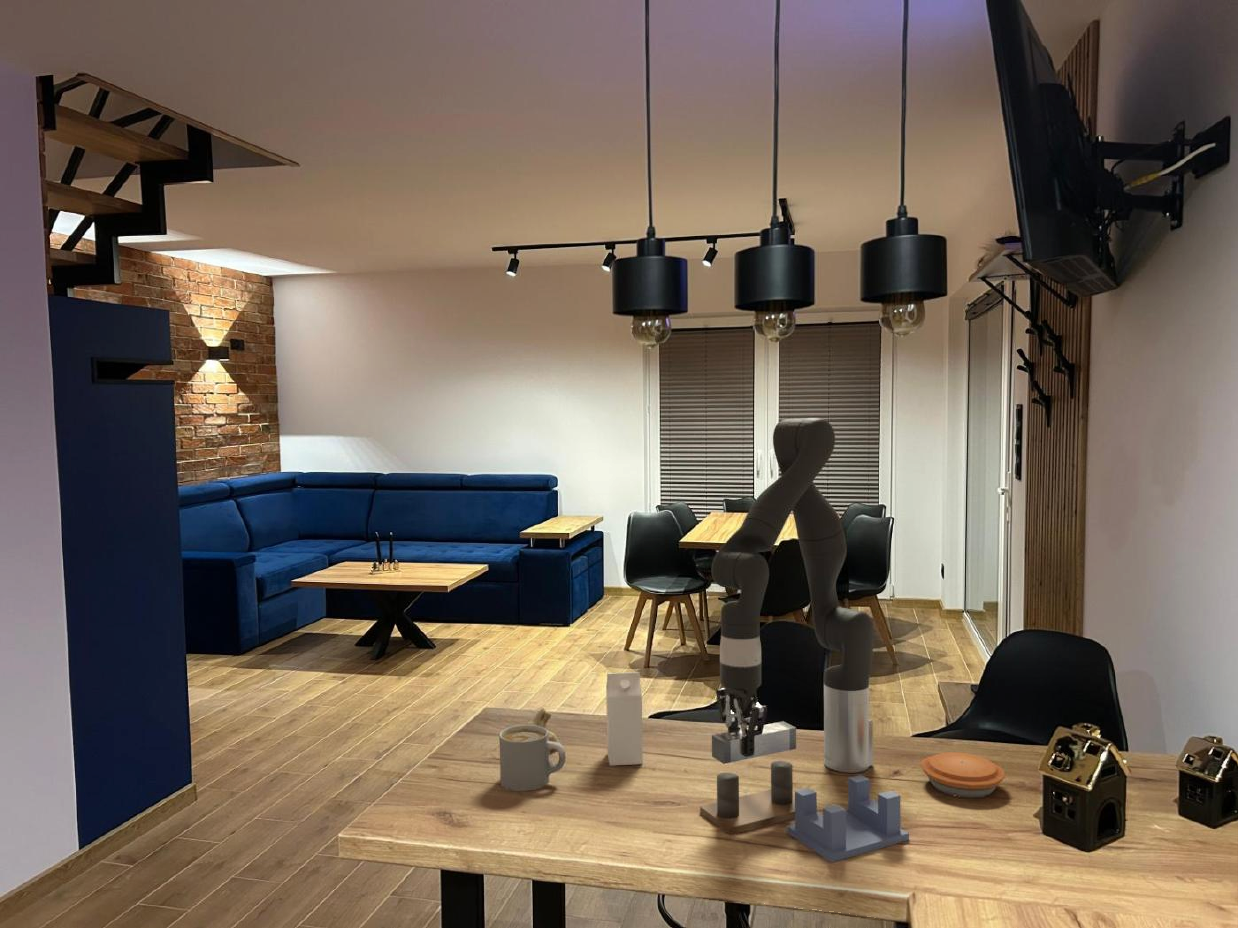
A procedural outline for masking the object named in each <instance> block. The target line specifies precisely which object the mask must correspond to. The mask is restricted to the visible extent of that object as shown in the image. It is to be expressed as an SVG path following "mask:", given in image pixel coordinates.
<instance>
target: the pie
mask: <svg viewBox="0 0 1238 928" xmlns="http://www.w3.org/2000/svg"><path fill="white" fill-rule="evenodd" d="M920 768H921V769H922V771H923V772H924V773H925V775H926V776H927V777H928V780H929V781H930V783H931V784H932V786H933V788H935V789H936V788H937V789H938V790H937V789H936V790H937V791H939V790H940V791H939V792H941V791H942V792H941V793H943V792H944V794H946V793H947V794H946V795H949V796H952V795H956V796H960V797H959V798H962V797H971V798H970V799H974V798H973V797H981V798H984V797H983V796H986V795H988V796H990V795H991V794H992V793H993V792H994V791H995V789H996V788H997V787H998V785H1000V783H1001V782H1002V781H1003V780H1004V779H1005V773H1006V772H1005V771H1004V769H1003V768H1002V767H1001V766H999V765H998V764H995V763H993V762H992V761H991V760H989V759H987V758H985V757H982V756H979V755H975V754H970V753H964V752H950V751H949V752H941V753H937V754H933V755H931V756H928V757H925V758H923V759H922V760H921V761H920ZM956 796H955V797H956ZM986 797H987V796H986Z"/></svg>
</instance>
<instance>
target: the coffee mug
mask: <svg viewBox="0 0 1238 928" xmlns="http://www.w3.org/2000/svg"><path fill="white" fill-rule="evenodd" d="M548 731H549V730H548V729H547V728H546V729H545V728H543V727H541V726H536V725H527V724H521V725H512V726H509V727H507V728H504V729H503V730H502V731H500V733H499V736H498V737H499V771H500V772H499V773H500V777H499V778H500V780H499V781H500V785H501V787H503V788H504V789H506V790H508V791H512V792H513V791H514V792H531V791H535V790H538V789H541V788H543V787H545V786H546V785H548V783H549V782H550V775H551V774H553V773H556V772H558V771H560V770H562V769H563V767H564V765H565V762H566V751H565V748H564V746H563V744H561V743H557V742H551V741H549V740H548ZM551 749H555V750H556V751H555V752H557V753H558V762H557V763H554V762H552V760H551V756H550V755H551V753H550V750H551Z"/></svg>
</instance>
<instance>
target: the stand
mask: <svg viewBox="0 0 1238 928" xmlns="http://www.w3.org/2000/svg"><path fill="white" fill-rule="evenodd" d="M793 774H794V773H793V763H791V762H789V761H786V760H777V761H776V760H775V761H773V762H771V763H770V789H767V790H762V791H758V792H754V793H750V794H747V795H746V794H745V795H741V796H740V780H739V779H740V776H739V775H738V774H736V773H733V772H722V773H718V774H717V775H716V802H712V803H709V804H704V805H700V807H699V813H700V814H702V816H704V817H705V818H707V820H710V822H712V823H713V824H715V825H716V826H717V827H718V826H719V829H721V830H722V831H723V832H725V833H726V834H728V835H729V836H731V835H734V834H739V833H741V832H742V833H743V832H746V831H750V830H753V829H757V828H761V827H765V826H768V825H772V824H776V823H781V822H784V821H785V822H786V821H788V820H793V819H795V795H793V793H794V792H793V791H794V790H793V789H794V788H793V787H794V784H793V783H794V782H793V780H794V779H793Z"/></svg>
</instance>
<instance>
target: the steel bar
mask: <svg viewBox="0 0 1238 928" xmlns="http://www.w3.org/2000/svg"><path fill="white" fill-rule="evenodd" d="M756 728H757V726H756ZM747 729H748V727H747ZM742 736H743V735H742V730H741V729H740V730H736V731H731V732H728V731H725V732H720V733H715V734H711V757H713V758H714V759H715V760H717V761H718V762H720V763H722V764H723V765H725V764H730V763H735V762H739V761H745V760H749V759H753V758H758V757H763V756H768V755H773V754H777V753H782V752H788V751H792V750H796V749H797V727H796V726H793V725H792V724H790V723H787V722H786V721H784V720H782V721H778V722H773V723H768V724H764V728H763V732H762V734H761V735H756V736H755V737H754V749H755V751H754V755H753V756H748V757H745V756H743V755H742Z"/></svg>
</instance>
